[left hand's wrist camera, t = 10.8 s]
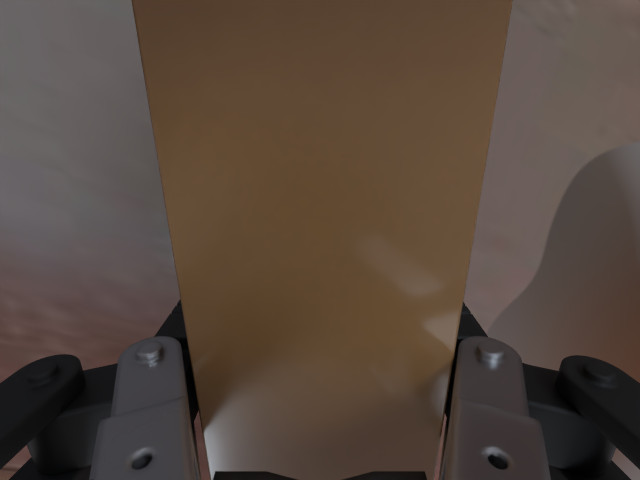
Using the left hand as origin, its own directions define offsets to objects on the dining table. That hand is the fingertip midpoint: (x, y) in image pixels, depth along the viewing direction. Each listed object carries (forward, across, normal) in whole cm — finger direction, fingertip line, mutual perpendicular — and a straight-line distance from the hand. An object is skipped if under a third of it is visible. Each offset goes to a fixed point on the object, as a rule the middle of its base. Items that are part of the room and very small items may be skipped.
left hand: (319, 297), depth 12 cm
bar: (+4, 0, -9) cm, 9 cm away
